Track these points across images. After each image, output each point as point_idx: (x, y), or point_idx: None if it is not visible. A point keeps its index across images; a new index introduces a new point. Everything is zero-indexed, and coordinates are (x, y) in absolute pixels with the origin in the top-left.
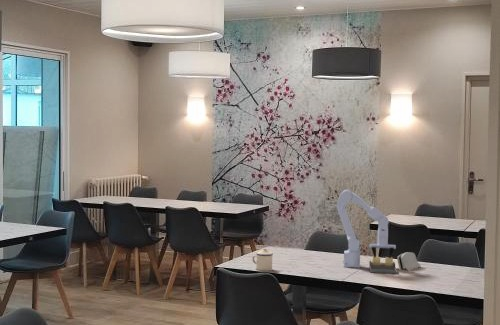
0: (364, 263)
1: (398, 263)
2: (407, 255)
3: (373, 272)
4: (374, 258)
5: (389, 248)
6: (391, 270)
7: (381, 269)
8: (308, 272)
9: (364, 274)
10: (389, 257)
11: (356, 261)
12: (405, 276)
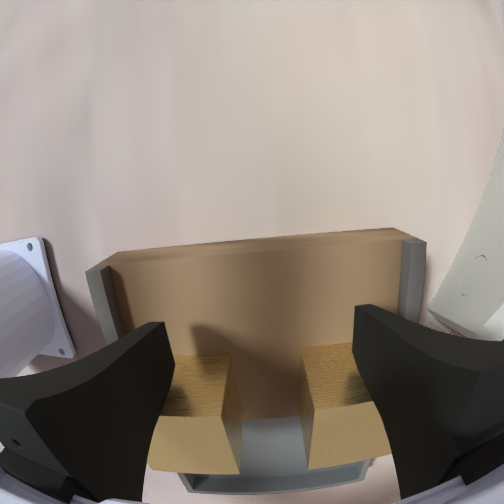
0: (64, 97)
1: (449, 320)
2: None
3: (212, 477)
4: (169, 465)
5: (453, 476)
6: (331, 484)
7: (263, 492)
8: (3, 448)
9: (175, 497)
10: (375, 413)
11: (23, 368)
12: (390, 478)
